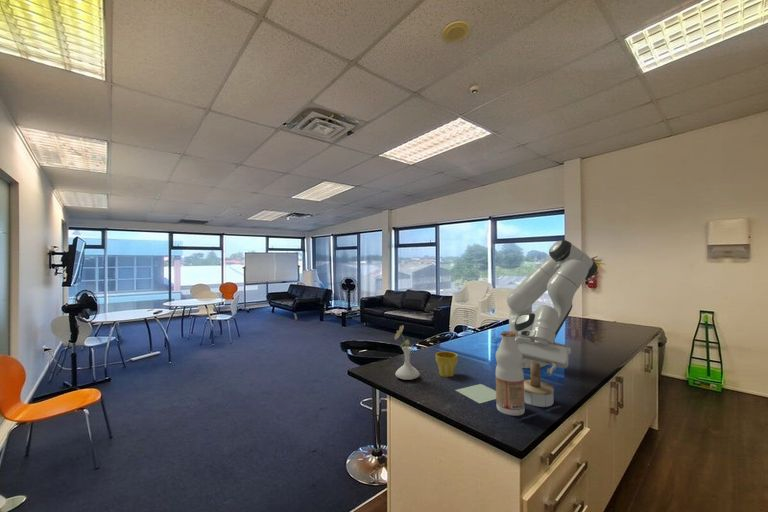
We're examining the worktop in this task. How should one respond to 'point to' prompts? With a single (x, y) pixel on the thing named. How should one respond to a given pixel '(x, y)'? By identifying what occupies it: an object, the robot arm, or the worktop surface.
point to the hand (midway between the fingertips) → (535, 370)
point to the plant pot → (446, 363)
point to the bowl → (538, 399)
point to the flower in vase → (406, 360)
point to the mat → (478, 393)
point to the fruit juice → (509, 376)
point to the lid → (537, 382)
